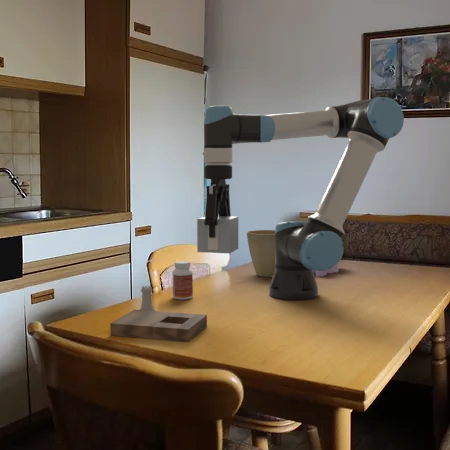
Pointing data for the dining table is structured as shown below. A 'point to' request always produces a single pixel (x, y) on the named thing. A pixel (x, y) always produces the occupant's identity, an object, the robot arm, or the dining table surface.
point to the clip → (327, 271)
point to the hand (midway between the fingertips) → (218, 247)
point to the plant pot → (262, 251)
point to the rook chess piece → (146, 299)
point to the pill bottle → (182, 281)
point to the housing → (219, 235)
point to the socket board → (159, 325)
